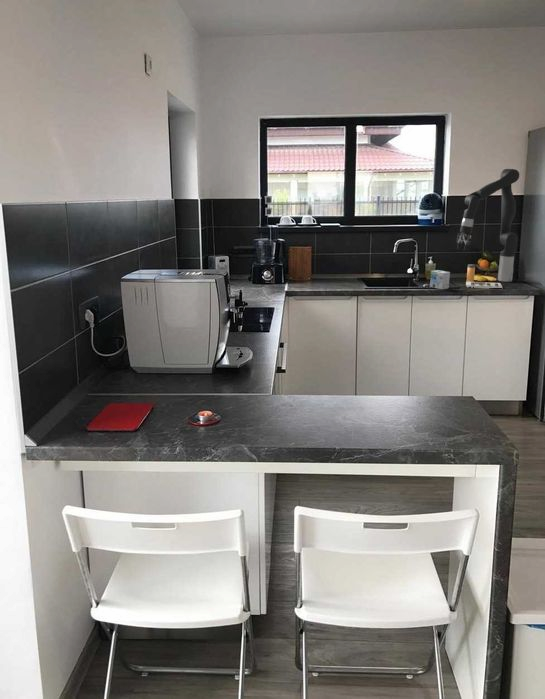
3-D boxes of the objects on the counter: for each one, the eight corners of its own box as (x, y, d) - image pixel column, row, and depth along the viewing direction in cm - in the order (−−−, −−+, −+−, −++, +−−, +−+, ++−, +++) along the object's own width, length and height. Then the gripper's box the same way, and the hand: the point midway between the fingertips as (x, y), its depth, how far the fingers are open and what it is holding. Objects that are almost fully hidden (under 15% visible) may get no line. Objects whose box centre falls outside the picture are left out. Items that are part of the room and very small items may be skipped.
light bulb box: (429, 287, 447) (430, 270, 444) (436, 285, 451) (437, 269, 448) (442, 289, 439) (443, 273, 436) (449, 288, 443) (450, 272, 440)
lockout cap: (473, 282, 467) (475, 264, 463) (473, 283, 462) (475, 265, 459) (466, 281, 468) (467, 264, 464) (466, 282, 463) (468, 265, 460)
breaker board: (499, 285, 455) (500, 281, 455) (502, 289, 442) (502, 285, 442) (466, 283, 460) (466, 279, 459) (467, 287, 447) (467, 283, 446)
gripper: (477, 227, 448) (472, 251, 452) (466, 225, 461) (461, 249, 465) (467, 225, 446) (462, 250, 449) (456, 223, 459) (451, 247, 463)
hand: (461, 249), depth 457 cm, fingers open, 8 cm apart
